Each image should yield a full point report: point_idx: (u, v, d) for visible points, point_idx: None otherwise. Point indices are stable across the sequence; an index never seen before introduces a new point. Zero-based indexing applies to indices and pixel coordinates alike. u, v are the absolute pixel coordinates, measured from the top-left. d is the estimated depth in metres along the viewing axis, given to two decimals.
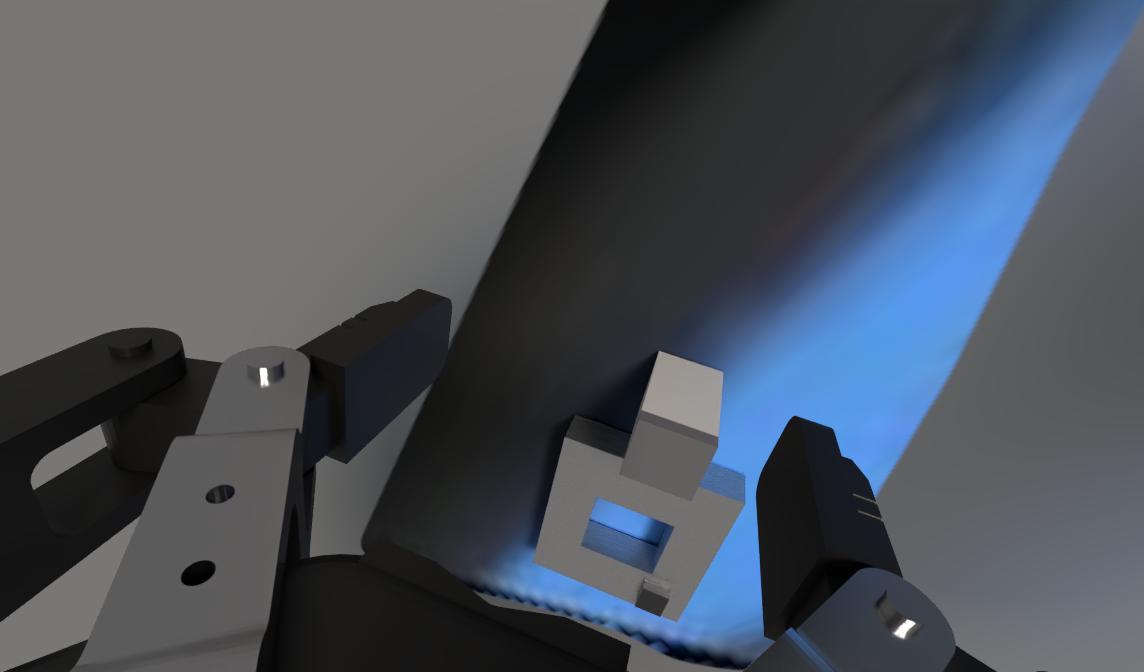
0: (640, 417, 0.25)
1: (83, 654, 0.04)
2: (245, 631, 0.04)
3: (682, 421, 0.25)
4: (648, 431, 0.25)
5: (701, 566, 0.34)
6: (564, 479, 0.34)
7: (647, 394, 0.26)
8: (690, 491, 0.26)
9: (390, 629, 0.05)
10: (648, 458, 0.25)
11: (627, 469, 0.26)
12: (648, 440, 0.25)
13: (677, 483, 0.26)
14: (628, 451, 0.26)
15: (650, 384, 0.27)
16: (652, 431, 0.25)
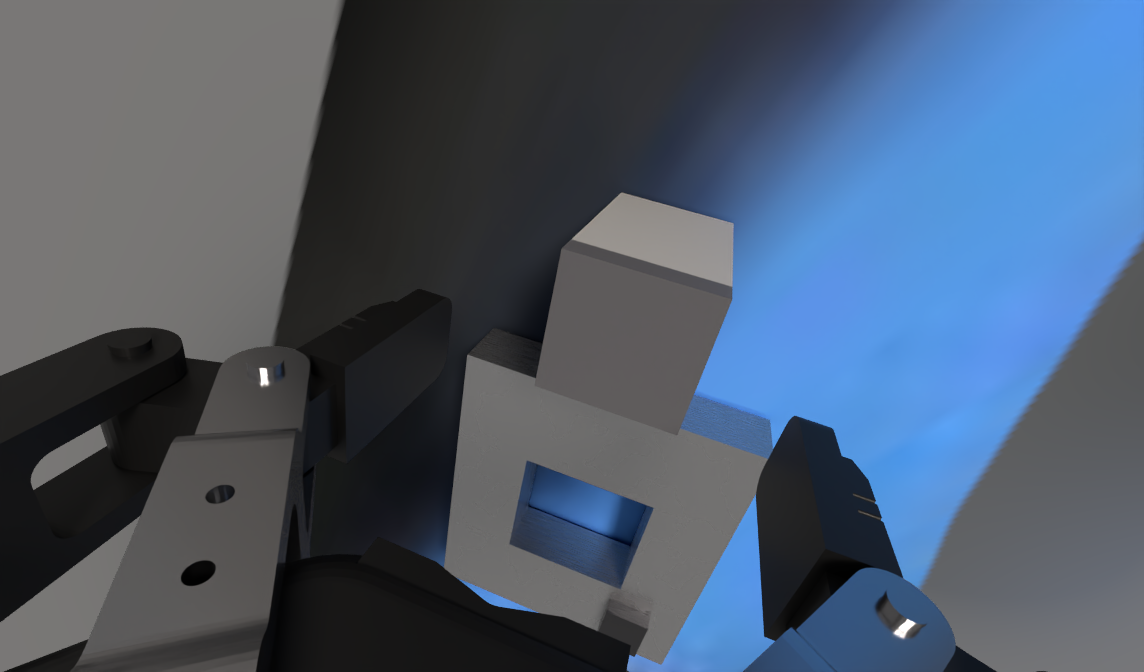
0: (566, 246, 0.12)
1: (83, 654, 0.04)
2: (244, 632, 0.04)
3: (656, 261, 0.12)
4: (583, 276, 0.12)
5: (698, 574, 0.21)
6: (474, 432, 0.21)
7: (589, 225, 0.13)
8: (674, 412, 0.13)
9: (390, 629, 0.05)
10: (587, 342, 0.12)
11: (549, 373, 0.13)
12: (585, 299, 0.12)
13: (648, 395, 0.13)
14: (547, 330, 0.13)
15: (598, 217, 0.14)
16: (590, 274, 0.12)
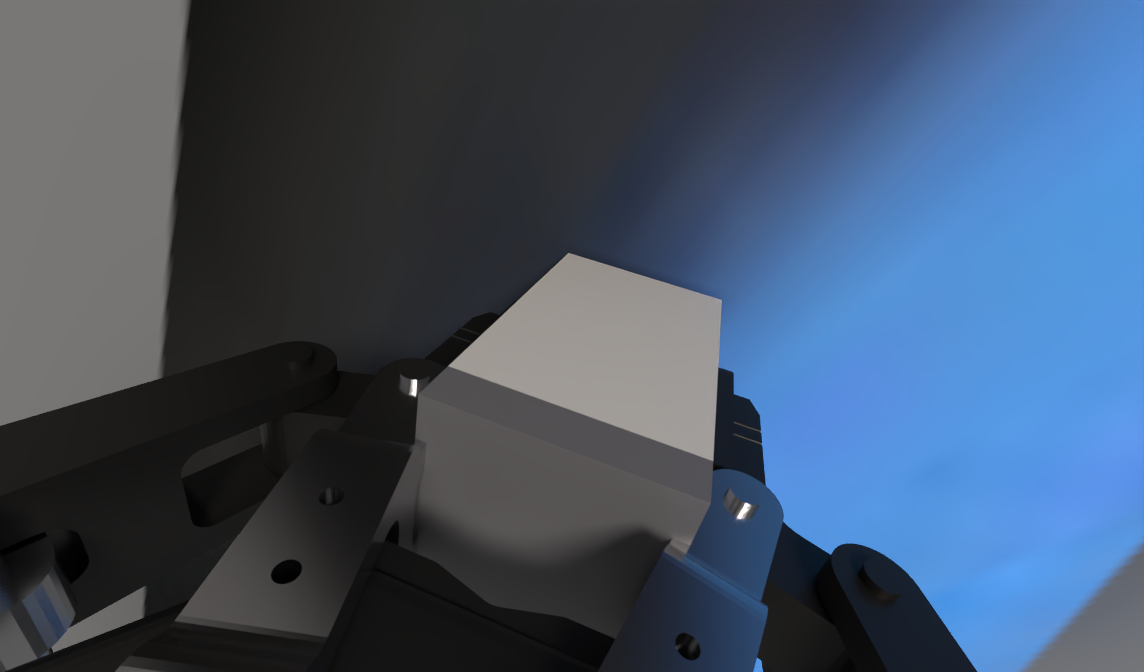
0: (430, 388, 0.07)
1: (176, 620, 0.04)
2: (298, 652, 0.04)
3: (587, 406, 0.07)
4: (458, 440, 0.07)
5: None
6: None
7: (493, 328, 0.09)
8: None
9: (390, 629, 0.05)
10: (477, 533, 0.07)
11: None
12: (465, 472, 0.07)
13: (577, 618, 0.08)
14: None
15: (515, 307, 0.09)
16: (470, 438, 0.07)
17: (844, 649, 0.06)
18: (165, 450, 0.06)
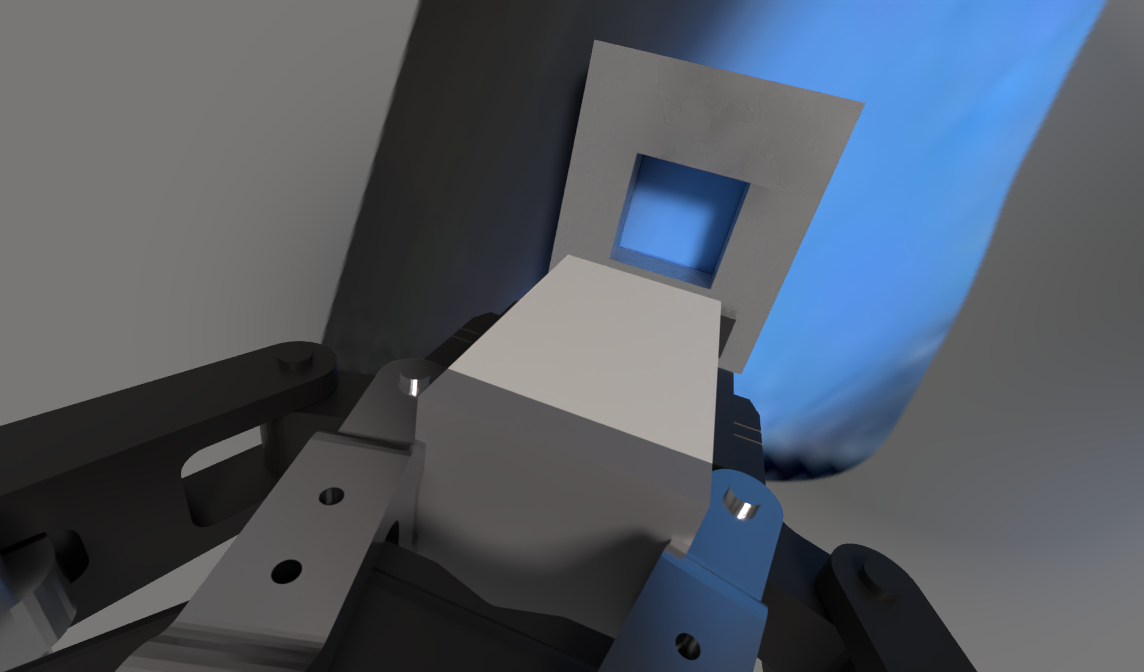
0: (429, 390, 0.07)
1: (175, 621, 0.04)
2: (298, 652, 0.04)
3: (587, 408, 0.07)
4: (459, 442, 0.07)
5: (785, 254, 0.24)
6: (591, 130, 0.24)
7: (493, 330, 0.09)
8: None
9: (390, 629, 0.05)
10: (475, 535, 0.07)
11: None
12: (464, 475, 0.07)
13: (576, 619, 0.08)
14: None
15: (515, 309, 0.09)
16: (469, 441, 0.07)
17: (844, 649, 0.06)
18: (165, 450, 0.06)
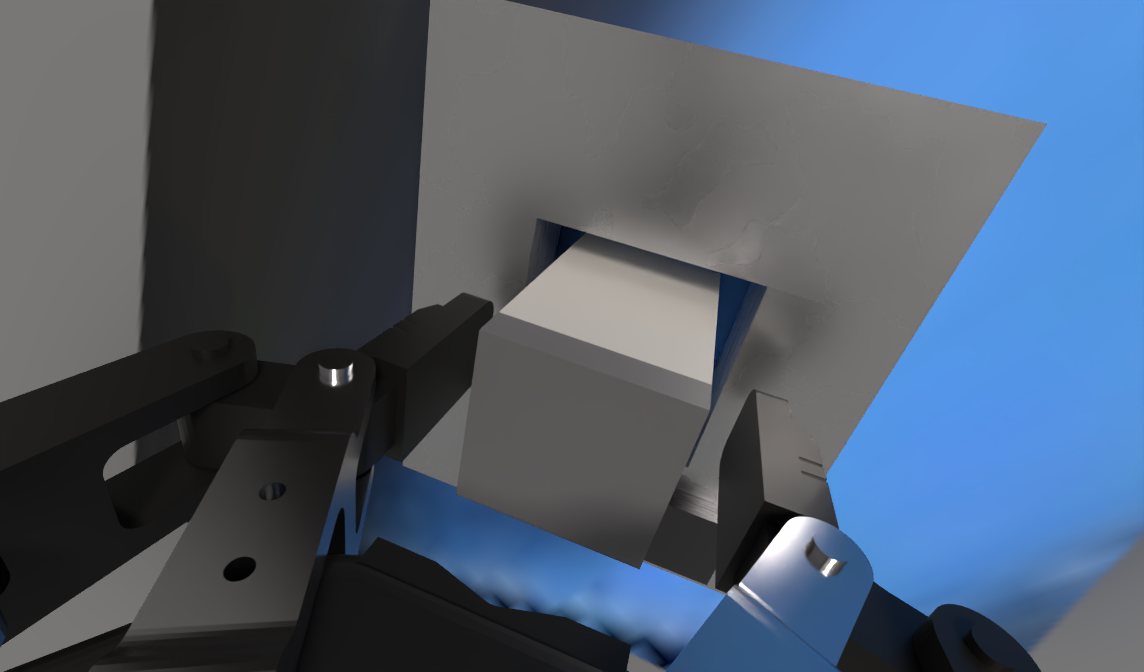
0: (487, 326, 0.09)
1: (126, 635, 0.04)
2: (269, 638, 0.04)
3: (611, 344, 0.09)
4: (510, 367, 0.09)
5: (836, 422, 0.12)
6: (446, 172, 0.12)
7: (530, 287, 0.10)
8: (635, 541, 0.09)
9: (390, 629, 0.05)
10: (520, 449, 0.09)
11: (473, 480, 0.10)
12: (513, 395, 0.09)
13: (600, 518, 0.09)
14: (468, 430, 0.09)
15: (546, 273, 0.11)
16: (519, 365, 0.08)
17: None
18: (83, 450, 0.06)
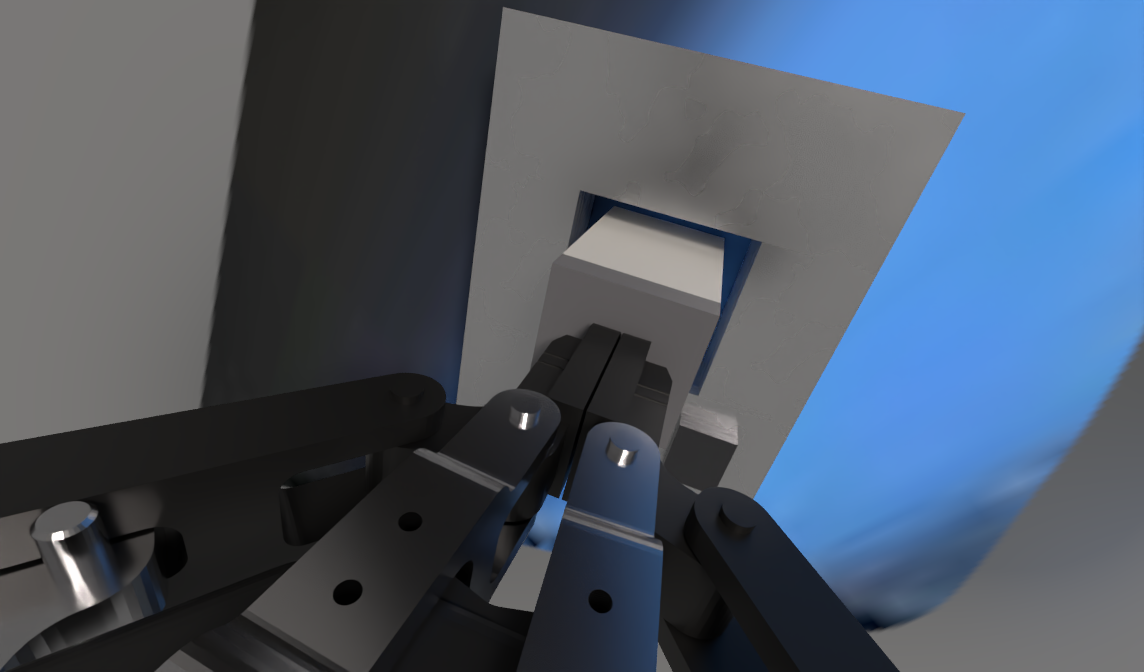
0: (557, 261, 0.12)
1: (243, 614, 0.04)
2: None
3: (646, 276, 0.12)
4: (574, 291, 0.12)
5: (816, 352, 0.15)
6: (507, 154, 0.15)
7: (580, 239, 0.13)
8: None
9: None
10: None
11: None
12: (575, 313, 0.12)
13: None
14: (537, 343, 0.13)
15: (589, 231, 0.14)
16: (581, 289, 0.12)
17: (702, 580, 0.07)
18: (267, 469, 0.06)
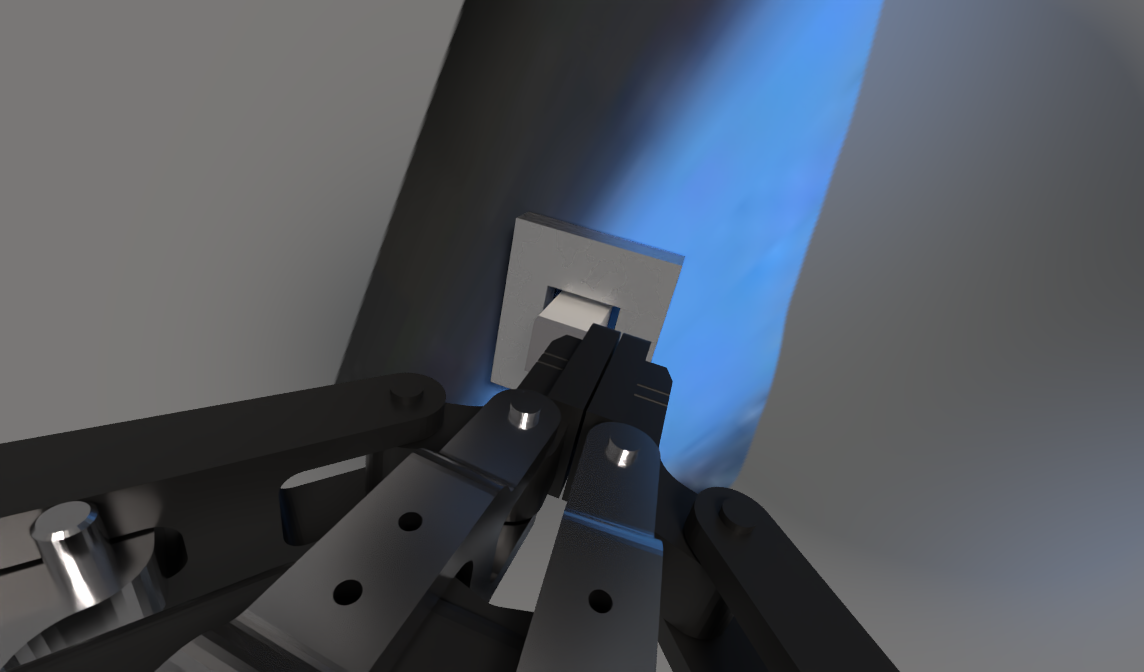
0: (536, 319, 0.33)
1: (242, 614, 0.04)
2: None
3: (569, 324, 0.33)
4: (542, 329, 0.33)
5: None
6: (517, 270, 0.36)
7: (546, 308, 0.34)
8: None
9: None
10: None
11: (530, 365, 0.34)
12: (542, 337, 0.33)
13: None
14: (529, 349, 0.34)
15: (551, 303, 0.35)
16: (544, 329, 0.33)
17: (702, 580, 0.07)
18: (267, 469, 0.06)
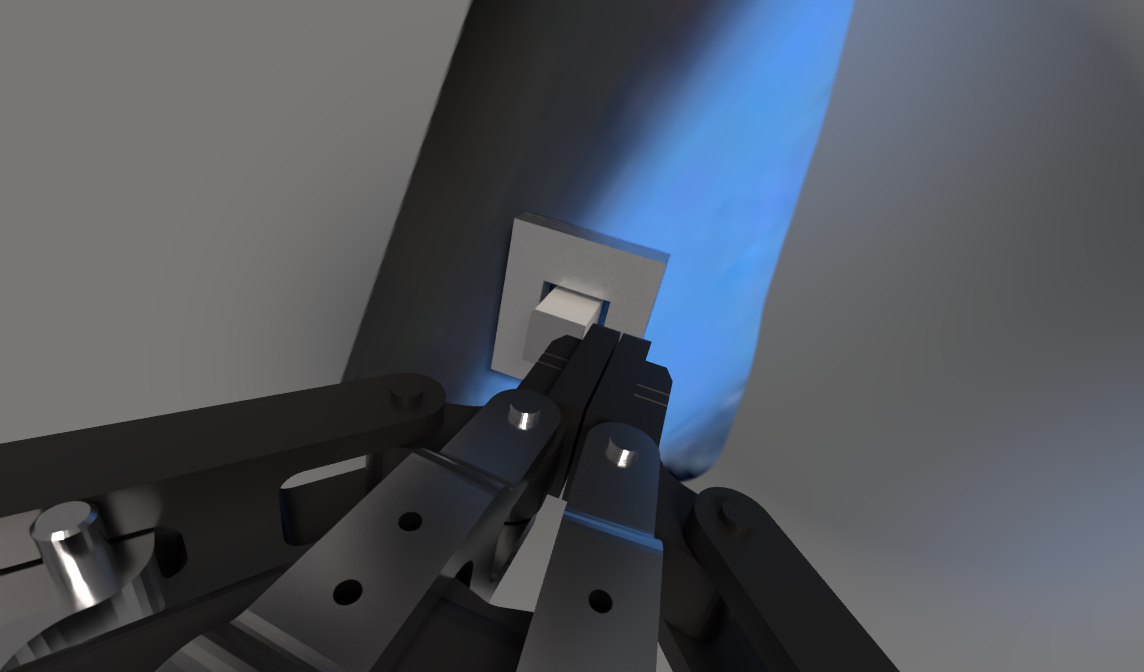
0: (532, 312, 0.36)
1: (242, 614, 0.04)
2: None
3: (562, 316, 0.36)
4: (538, 322, 0.36)
5: None
6: (515, 266, 0.39)
7: (542, 302, 0.38)
8: None
9: None
10: (540, 343, 0.36)
11: (527, 354, 0.37)
12: (538, 329, 0.36)
13: None
14: (526, 339, 0.37)
15: (546, 297, 0.38)
16: (540, 321, 0.36)
17: (702, 580, 0.07)
18: (267, 468, 0.06)
